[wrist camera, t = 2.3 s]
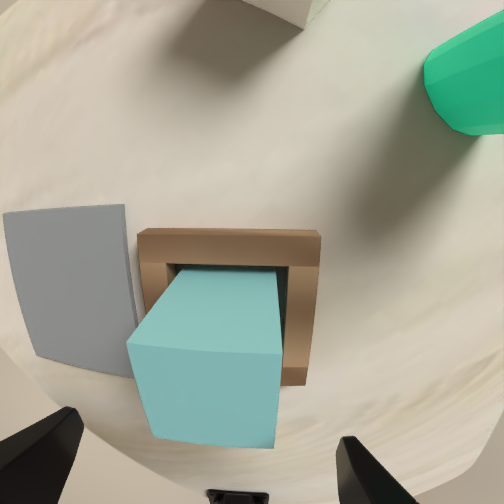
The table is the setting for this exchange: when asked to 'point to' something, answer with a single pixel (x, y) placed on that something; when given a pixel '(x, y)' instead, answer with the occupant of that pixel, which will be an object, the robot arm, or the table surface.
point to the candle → (470, 78)
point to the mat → (74, 284)
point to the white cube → (291, 9)
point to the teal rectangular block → (212, 357)
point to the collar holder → (243, 253)
